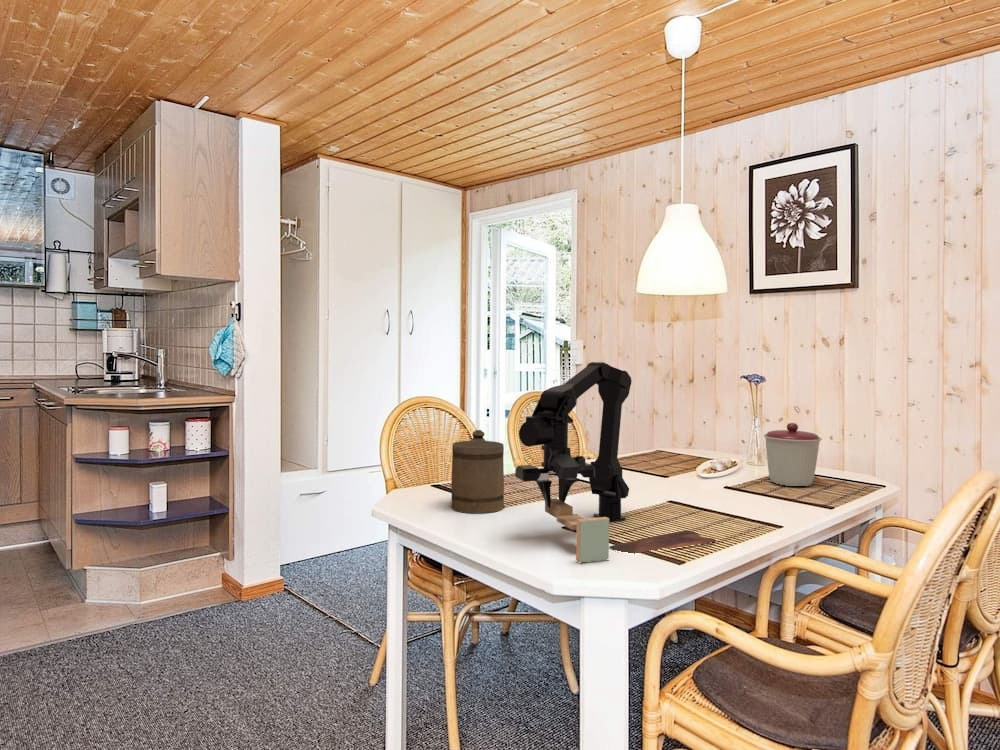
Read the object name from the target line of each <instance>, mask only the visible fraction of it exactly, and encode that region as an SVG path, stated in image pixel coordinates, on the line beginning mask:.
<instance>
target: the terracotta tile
mask: <svg viewBox="0 0 1000 750" xmlns="http://www.w3.org/2000/svg"><path fill="white" fill-rule="evenodd" d="M575 543H576V544H575V545H576V546H575V550H576V551H575V552H576V553H575V555H576V556H575V561H576V560H577V561H578V562H588V563H590V562H589V561H596V562H600V561H599V560H605V561H608V560H607V559H609V560H610V558H609V557H610V555H609V553H610V551H609V549H610V548H609V547H610V544H609V543H610V521H609V518H607V517H598V518H597V517H590V518H589V517H588V518H585V519H577V530H576V542H575ZM578 562H577V563H578Z"/></svg>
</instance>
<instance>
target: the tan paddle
mask: <svg viewBox="0 0 1000 750" xmlns="http://www.w3.org/2000/svg"><path fill="white" fill-rule="evenodd" d="M573 509H574V507H573V506H572V505H570V504H568V503H567V502H563V501H561V500H559V498H557V497H556V498H551V504H550V508H548V507H547V505H546V503H545V502H544V512H546V513H547V514H548V515H551V516H552V517H554V518H556V521H557V523H559V524H561V525H563V526H565V527H566V528H568V529H569V530H571V531H577V519H586V518H585V517H582V516H581V515H579V514H577V513H574V514H573V511H574V510H573Z"/></svg>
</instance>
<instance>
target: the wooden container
mask: <svg viewBox="0 0 1000 750" xmlns="http://www.w3.org/2000/svg"><path fill="white" fill-rule="evenodd" d="M484 436H485V432H484V431H482V429H475V430H474V431H472V438H471V439H470V440H461V441H456V442H453V443H452V449H451V450H452V456H451V457H452V458H451V459H452V460H451V485H450V486H451V492H450V493H451V509H453V510H454V511H457V512H459V511H460V513H464V512H465V513H466V514H491V513H496V512H499V511H502V510H503V509H504V506H505V505H504V504H505V502H504V501H505V498H504V497H505V496H504V495H505V477H504V474H505V473H504V471H505V470H504V466H505V465H504V448H505V447H504V446H505V445H504V443H502V442H499V441H493V440H486V438H484Z"/></svg>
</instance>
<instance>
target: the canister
mask: <svg viewBox="0 0 1000 750" xmlns="http://www.w3.org/2000/svg"><path fill="white" fill-rule="evenodd" d="M798 429H799V426H798V424H797V423H794V422H790V423H788V424H787V425H786V429H783V430H781V429H780V430H779V429H778V430H771V431H768V432H766V433H765V434H763V438H765V448H766V460H767V470H768V477H769V479H770V481H771V482H772V483H773V482H774V484H775V483H776V484H775V485H778V484H780V485H779V486H782V485H786V486H785V487H787V486H806V487H809V486H811V485H812V483H813V481H814V477H815V472H816V466H817V462H818V454H819V447H820V443H821V441H822V440H823V438H822V437H820V436H819V435H817V434H816V433H813V432H808V431H800V430H798Z"/></svg>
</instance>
